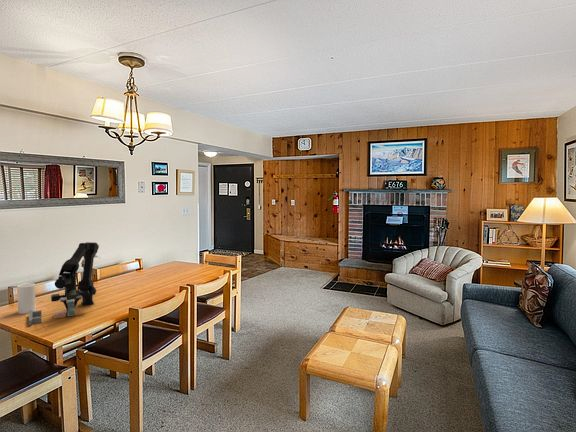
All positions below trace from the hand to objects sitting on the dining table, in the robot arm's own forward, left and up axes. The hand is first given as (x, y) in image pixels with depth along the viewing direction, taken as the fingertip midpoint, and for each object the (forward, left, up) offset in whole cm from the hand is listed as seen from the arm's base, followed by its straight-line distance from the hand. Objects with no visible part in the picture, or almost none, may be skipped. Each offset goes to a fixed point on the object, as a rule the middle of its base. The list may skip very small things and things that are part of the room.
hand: (70, 310), depth 200 cm
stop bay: (0, -16, -2) cm, 16 cm away
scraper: (0, 0, -2) cm, 2 cm away
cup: (-18, -21, -3) cm, 28 cm away
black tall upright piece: (-40, +12, -3) cm, 42 cm away
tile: (0, -5, -3) cm, 6 cm away
